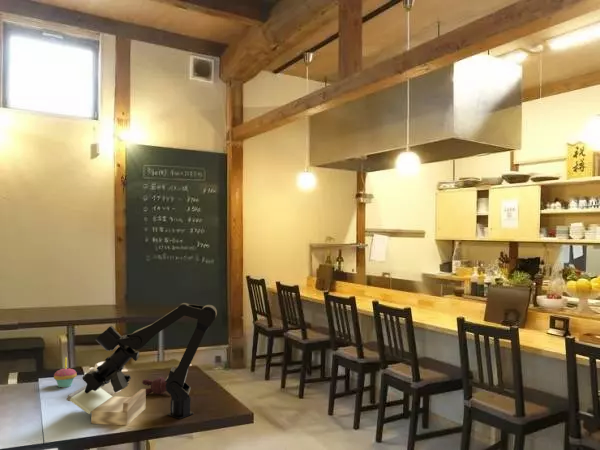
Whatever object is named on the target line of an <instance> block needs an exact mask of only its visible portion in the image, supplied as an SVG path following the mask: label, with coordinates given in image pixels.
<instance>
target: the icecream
mask: <svg viewBox="0 0 600 450" xmlns="http://www.w3.org/2000/svg"><path fill="white" fill-rule="evenodd" d="M166 379H167V378H165V377H164V376H160V377H156V378H155V379H153V380H150V379H149V378H147V379H146V378H145V379H143V380H142V384H143V385H144V386H148V387H149V386H150V388H145V389H146V395H150V394H152V393H153V394H155V395H159V396H161V395H164V394H165V393H166V392H167V390H166V388H165V387H166V383H167V382H165V381H166Z"/></svg>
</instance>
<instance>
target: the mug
mask: <svg viewBox="0 0 600 450" xmlns="http://www.w3.org/2000/svg"><path fill="white" fill-rule="evenodd" d="M104 362H105V360H104V361H99V362H96V363H95V364H94V367H93V366H92V367H90V368H88V371H87V373H88V372H90V371H96V370H97V367H98V366H100V365H102V364H103V363H104ZM110 380H111V379H110ZM100 388H101V389H103V390H104V391H106V392H107V393H109V394H110V395H112V394H113V395H114V394H117V393H120V392H121V391H122V390H120V391H118V392H114V390H113V386H112V384H111V381H110V382H109V383H107V384H105V385H104V386H103V387H100Z"/></svg>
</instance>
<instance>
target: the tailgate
mask: <svg viewBox="0 0 600 450" xmlns="http://www.w3.org/2000/svg"><path fill="white" fill-rule="evenodd" d="M86 386H87V384H85V385H83V386H82V387H81V388H78V389H77V390H76V391H74V392H72V393H70V394H69V395H68V396H67V397H66V401H68V402H71V403H73V404H74V405H76V406H77V407H78V408H79V409H81V410H82V411H84V412H85V413H86V414H88V415H90V414H92V411H93V410H94V409H96V408H97V407H98V406H100V405H101V404H103V403H104V402H106V401H107V400H108V399H110V398H111V397H113V395H112V394H109V393H107V392H106V391H104V390H103V389H101V388H99V389H98V390H96V391H94V390H91V391H90V392H89V393H86V392H85V389H86Z"/></svg>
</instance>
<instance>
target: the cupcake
mask: <svg viewBox="0 0 600 450" xmlns="http://www.w3.org/2000/svg"><path fill="white" fill-rule="evenodd" d="M67 360H68V357H67V356H65V358H64V368H60V369H58V370H56V372H54V374H53V379H54V380H55V381H56V383H57V387H58V388H60V387H65V388H69V387H71V386H72V384H73V381H74V379H75V378H76V377H77V371H76V369H73V368H67V367H68V366H67V365H68V364H67V363H68V361H67Z"/></svg>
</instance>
